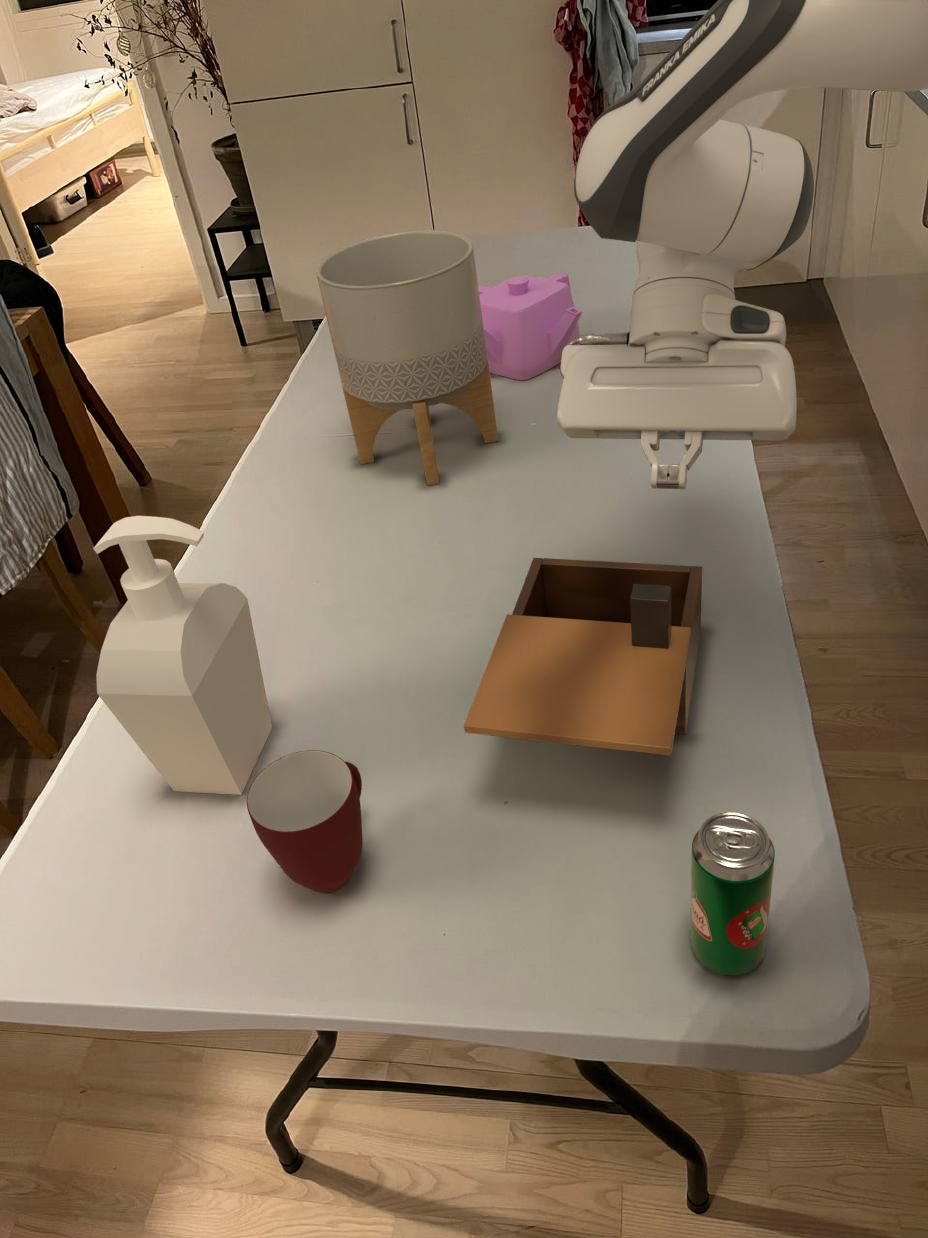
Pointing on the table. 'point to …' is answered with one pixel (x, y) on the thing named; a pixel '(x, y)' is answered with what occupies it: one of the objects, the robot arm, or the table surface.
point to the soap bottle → (183, 666)
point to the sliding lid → (587, 679)
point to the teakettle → (528, 324)
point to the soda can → (731, 892)
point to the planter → (407, 333)
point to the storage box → (615, 600)
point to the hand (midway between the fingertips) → (668, 487)
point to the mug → (310, 817)
